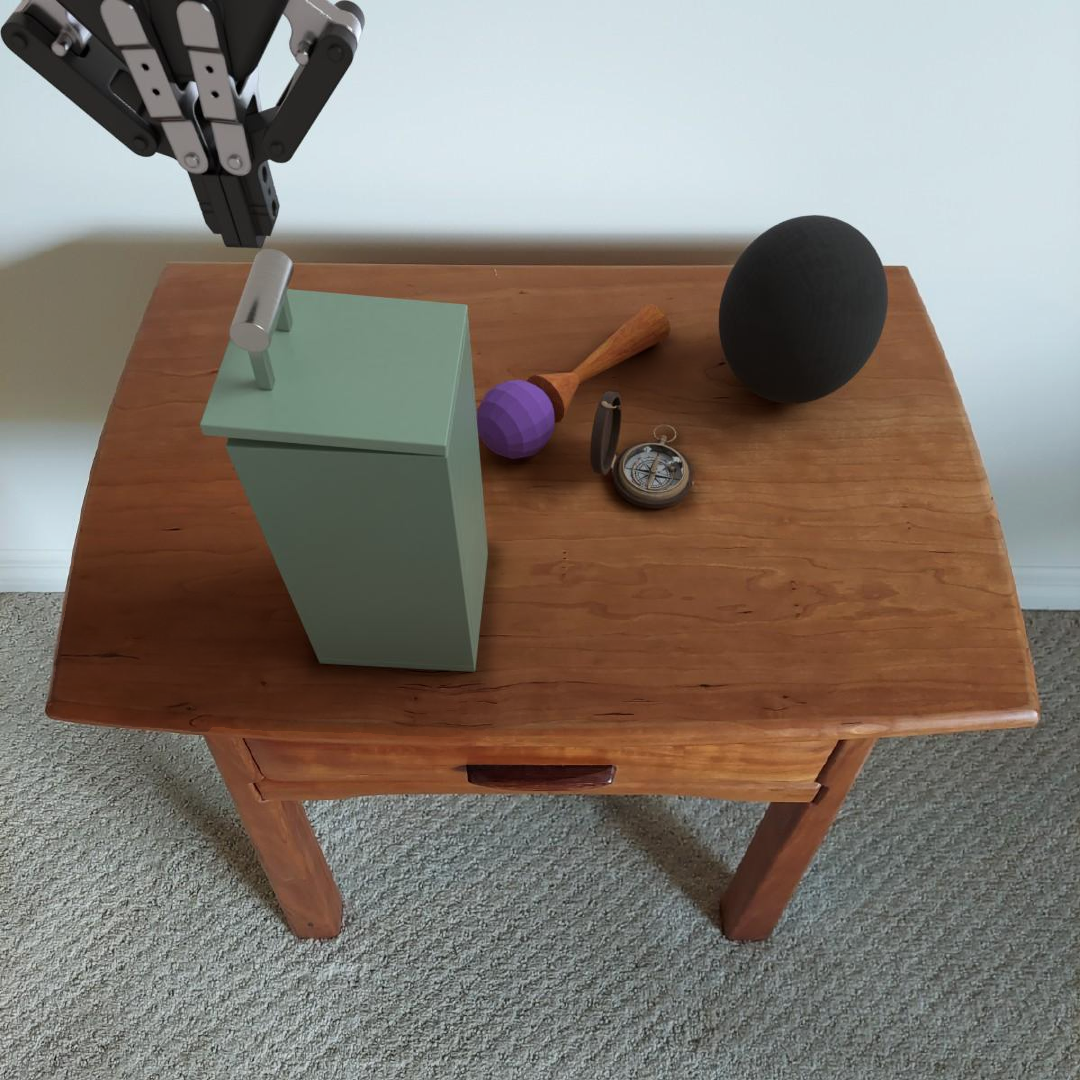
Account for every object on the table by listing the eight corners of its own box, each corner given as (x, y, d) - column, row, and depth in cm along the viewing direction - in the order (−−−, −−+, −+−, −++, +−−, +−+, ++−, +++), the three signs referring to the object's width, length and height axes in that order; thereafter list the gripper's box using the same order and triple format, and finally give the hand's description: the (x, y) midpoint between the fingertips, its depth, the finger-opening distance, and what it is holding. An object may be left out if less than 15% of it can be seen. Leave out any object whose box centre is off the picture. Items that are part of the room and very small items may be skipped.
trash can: (319, 663, 62) (224, 447, 43) (344, 546, 68) (269, 308, 49) (475, 672, 62) (447, 457, 43) (488, 553, 67) (468, 316, 49)
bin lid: (203, 436, 43) (172, 355, 39) (251, 296, 48) (229, 212, 44) (446, 456, 43) (443, 378, 39) (467, 315, 48) (467, 233, 44)
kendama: (692, 319, 76) (522, 441, 66) (669, 366, 81) (509, 486, 71) (639, 275, 77) (465, 389, 68) (620, 324, 82) (456, 436, 73)
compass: (684, 519, 69) (697, 457, 63) (582, 494, 70) (586, 432, 64) (705, 441, 73) (719, 376, 67) (608, 419, 75) (615, 354, 69)
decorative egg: (692, 418, 75) (722, 270, 62) (720, 318, 81) (752, 166, 69) (846, 452, 73) (908, 306, 60) (861, 346, 79) (921, 195, 67)
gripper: (-215, -247, 24) (69, 287, 38) (296, -233, 23) (388, 302, 37) (-85, -333, 28) (127, 177, 42) (350, -323, 27) (414, 189, 42)
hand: (250, 235), depth 40 cm, fingers closed
